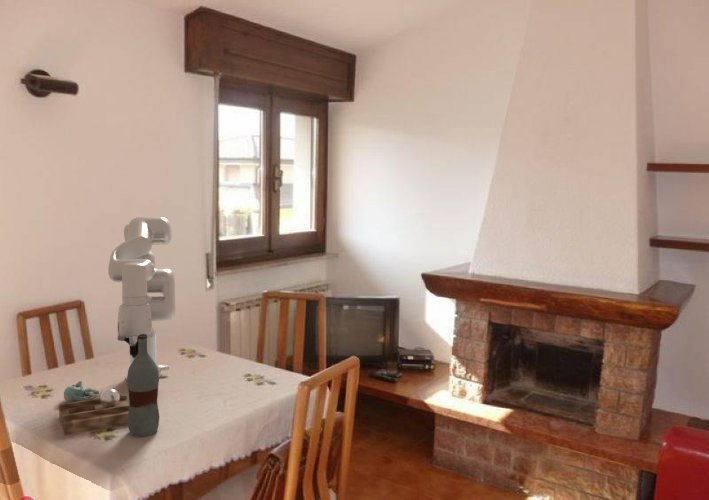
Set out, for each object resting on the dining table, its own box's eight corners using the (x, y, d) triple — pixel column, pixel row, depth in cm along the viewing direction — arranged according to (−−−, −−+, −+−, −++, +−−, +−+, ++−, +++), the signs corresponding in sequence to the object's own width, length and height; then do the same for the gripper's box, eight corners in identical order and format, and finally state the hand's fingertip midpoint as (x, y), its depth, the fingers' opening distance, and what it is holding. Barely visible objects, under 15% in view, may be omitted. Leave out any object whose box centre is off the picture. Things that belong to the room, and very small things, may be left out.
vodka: (160, 435, 178) (159, 337, 175) (127, 439, 175) (126, 339, 171) (158, 423, 187) (158, 330, 183) (127, 427, 183) (126, 332, 180)
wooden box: (124, 406, 200) (124, 391, 200) (134, 422, 187) (134, 407, 186) (59, 416, 190) (58, 401, 189) (64, 435, 176) (64, 419, 176)
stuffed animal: (107, 383, 207) (75, 385, 198) (104, 403, 207) (71, 406, 197) (90, 376, 213) (58, 378, 204) (87, 396, 213) (55, 399, 203)
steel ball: (118, 402, 194) (117, 384, 194) (121, 408, 189) (121, 390, 188) (98, 405, 191) (98, 387, 190) (101, 411, 186) (101, 393, 185)
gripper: (156, 297, 198) (156, 350, 200) (107, 300, 190) (108, 356, 192) (161, 301, 191) (162, 356, 193) (111, 304, 184) (112, 362, 185)
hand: (135, 356), depth 193 cm, fingers closed
